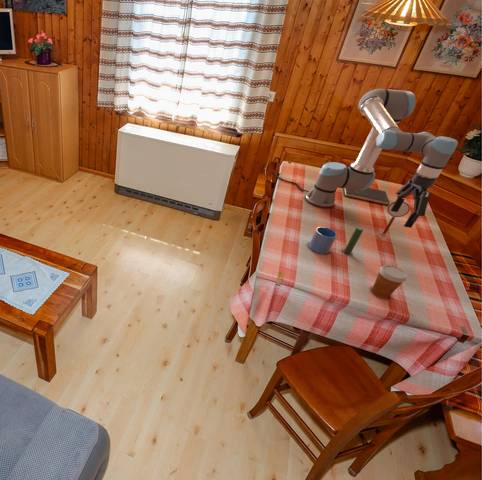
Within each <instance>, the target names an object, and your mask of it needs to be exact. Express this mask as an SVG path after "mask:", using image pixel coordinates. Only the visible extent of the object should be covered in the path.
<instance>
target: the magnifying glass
mask: <svg viewBox="0 0 482 480" xmlns="http://www.w3.org/2000/svg"><path fill="white" fill-rule="evenodd" d="M394 203H395V201H394V202H391V203H389V204H388V206H387V214H388V215H390V216H391V218H390V220H389V222H388V223H387V225H386V227H385V229H384V231H383V232H382V236H385V235H386V234H387V232H388V231H389V229H390V227H391V225H392V224H393V222H394V220H395V219H396V218H401V217H404V216H406V215H407V214H408V213H409V212H410V209H411V208H410V205H409V203H407V202H405V201H404V202H403V203H402V205H401V207H400V209H399V210H398V212H393V211H390V210H391V209H392V207H393V205H394Z"/></svg>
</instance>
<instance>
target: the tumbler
mask: <svg viewBox="0 0 482 480" xmlns="http://www.w3.org/2000/svg"><path fill="white" fill-rule="evenodd" d="M337 237H338V233H337V231H335V230H334V229H332V228H330V227H326V226H318V227H316V229H315V230H314V233H313V235H312V237H311V239H310V242H309V244H308V248H309V249H310V250H311V251H313V252H315V253H317V254H322V255H327V254H328V253H329V252H330V251H331V249H332V247H333V245H334V243H335V241H336V239H337Z"/></svg>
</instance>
